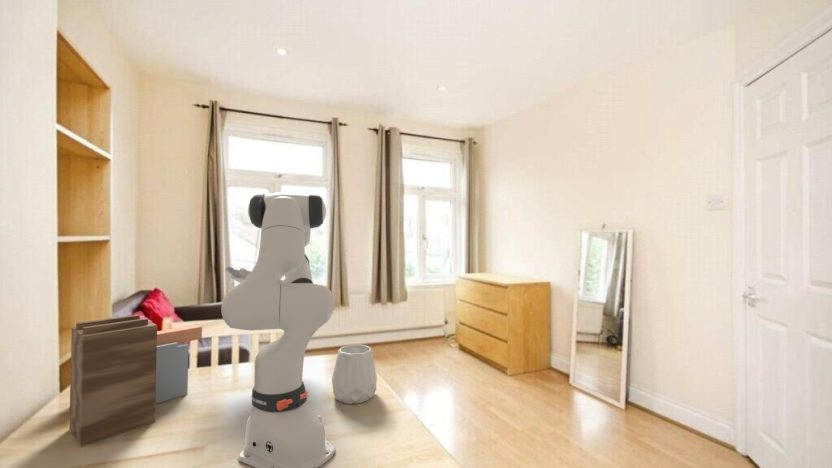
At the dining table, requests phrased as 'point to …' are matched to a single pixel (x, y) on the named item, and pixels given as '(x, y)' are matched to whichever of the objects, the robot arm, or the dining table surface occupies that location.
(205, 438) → the dining table surface
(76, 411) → the stand
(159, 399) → the step
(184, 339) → the baton
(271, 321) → the robot arm
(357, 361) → the vase
